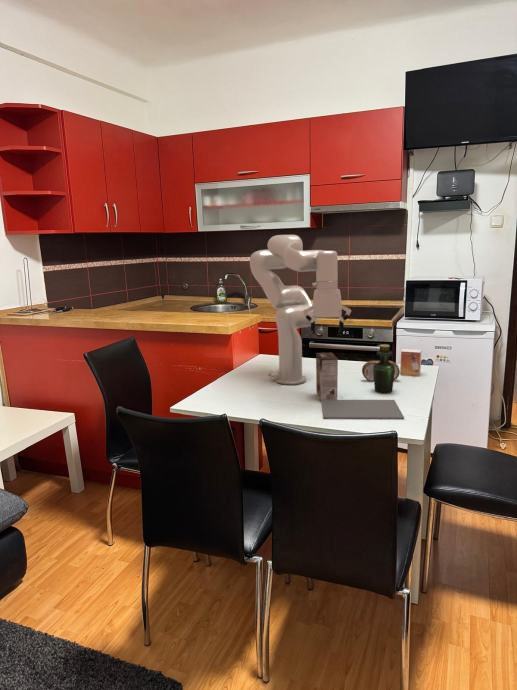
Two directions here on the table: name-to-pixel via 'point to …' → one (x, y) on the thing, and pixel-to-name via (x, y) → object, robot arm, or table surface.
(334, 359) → the coffee box
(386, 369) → the potion bottle
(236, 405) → the table surface
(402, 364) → the small box
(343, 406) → the mat
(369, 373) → the tin
